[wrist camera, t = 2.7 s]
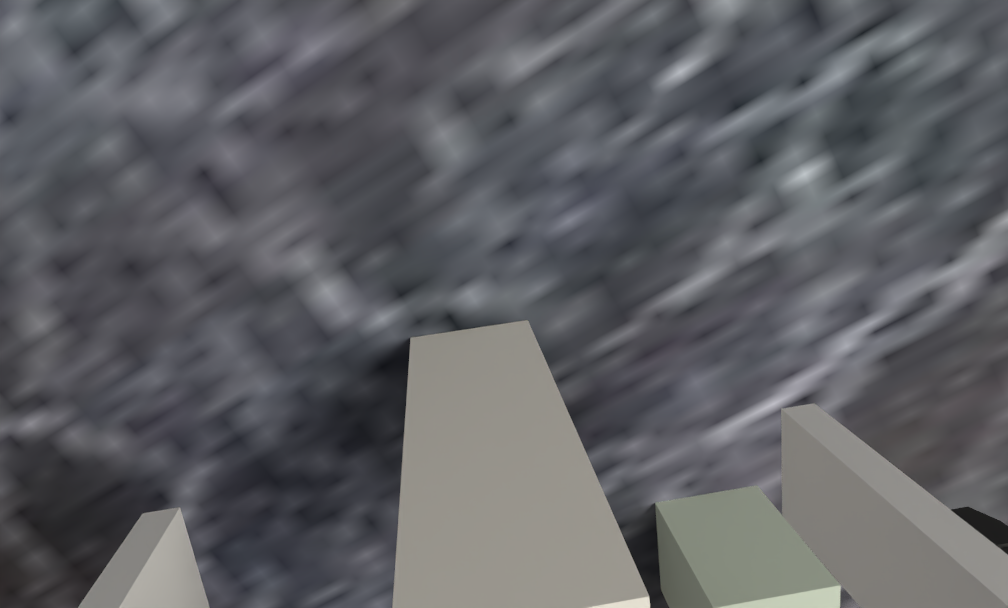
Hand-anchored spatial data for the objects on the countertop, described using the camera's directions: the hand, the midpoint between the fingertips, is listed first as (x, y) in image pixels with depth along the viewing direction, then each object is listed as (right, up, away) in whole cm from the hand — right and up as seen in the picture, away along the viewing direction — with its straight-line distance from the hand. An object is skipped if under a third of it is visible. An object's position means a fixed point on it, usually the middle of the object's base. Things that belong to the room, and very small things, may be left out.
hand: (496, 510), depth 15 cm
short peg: (+7, -4, +9) cm, 12 cm away
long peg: (-1, +2, +6) cm, 6 cm away
